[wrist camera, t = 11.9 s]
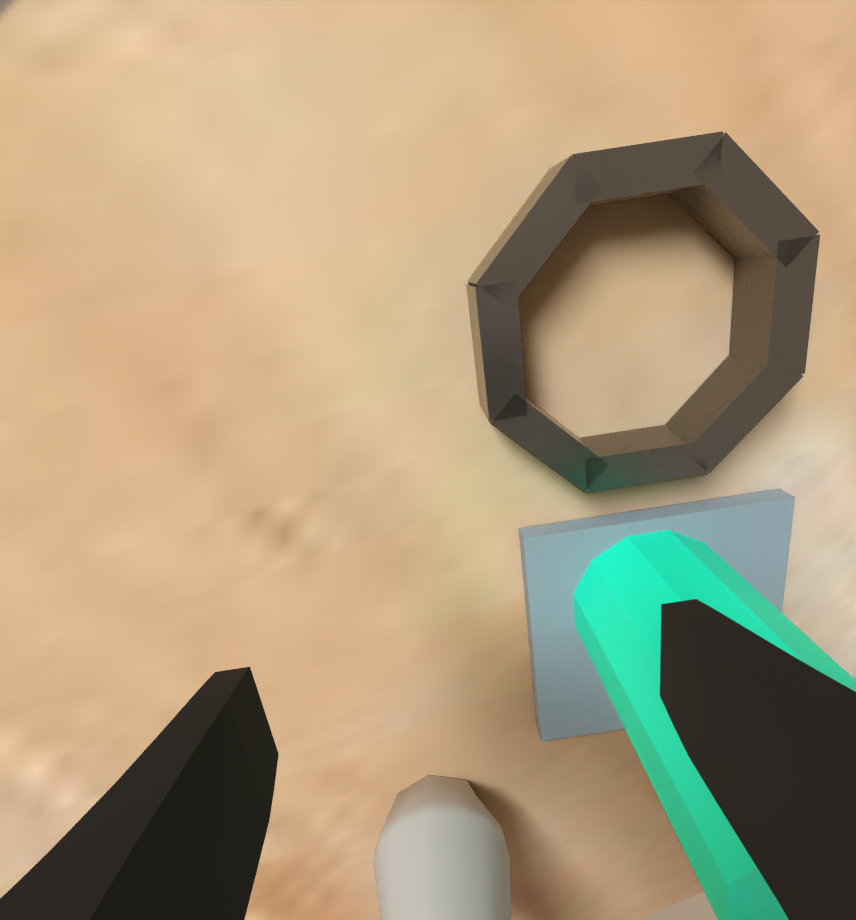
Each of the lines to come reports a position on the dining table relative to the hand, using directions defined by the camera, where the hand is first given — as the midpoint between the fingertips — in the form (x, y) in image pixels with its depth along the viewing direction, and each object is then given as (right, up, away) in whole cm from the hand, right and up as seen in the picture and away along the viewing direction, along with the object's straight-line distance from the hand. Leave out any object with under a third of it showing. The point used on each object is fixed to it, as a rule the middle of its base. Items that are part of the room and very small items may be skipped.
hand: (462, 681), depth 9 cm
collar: (+6, +8, +8) cm, 13 cm away
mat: (+8, -3, +13) cm, 15 cm away
